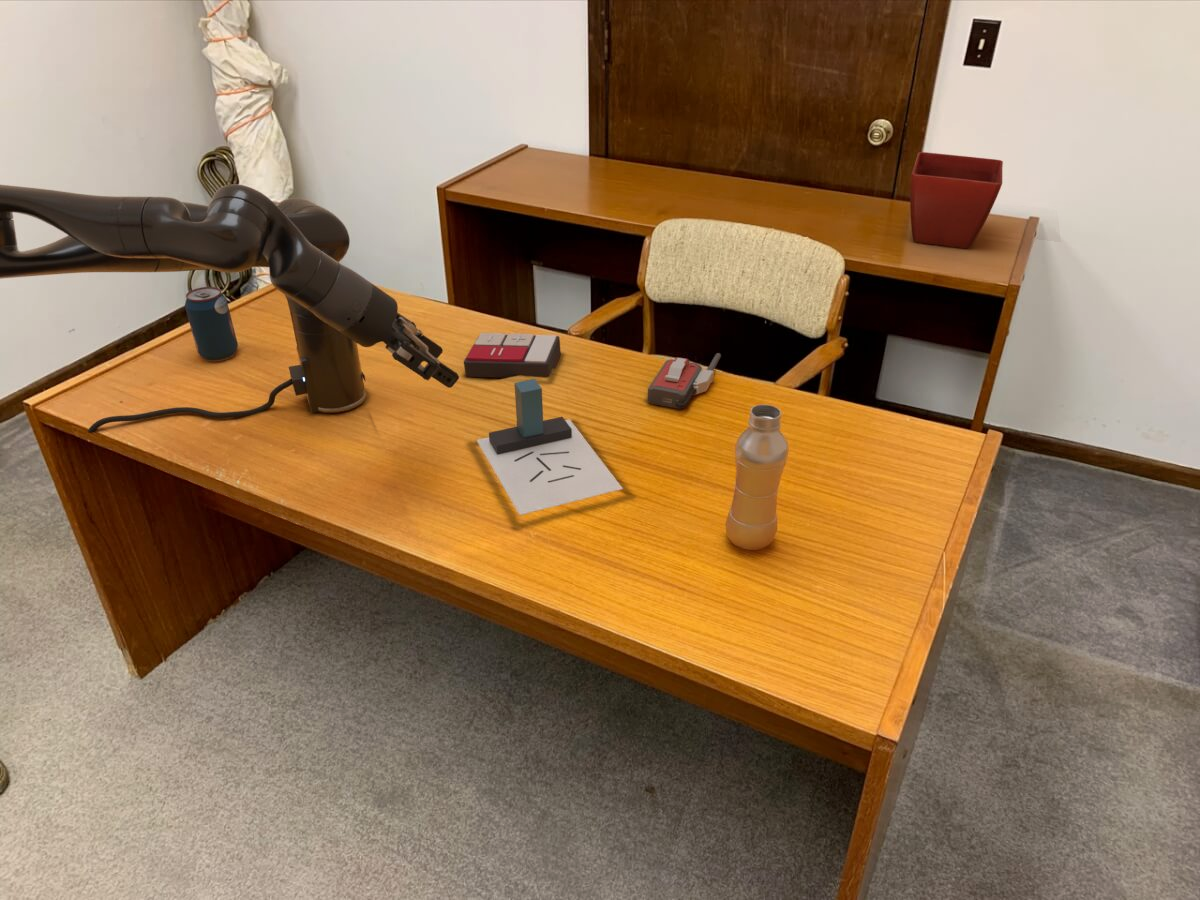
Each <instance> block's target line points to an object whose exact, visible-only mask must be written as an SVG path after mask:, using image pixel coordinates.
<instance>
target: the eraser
mask: <svg viewBox="0 0 1200 900" xmlns="http://www.w3.org/2000/svg"><path fill="white" fill-rule="evenodd" d="M514 397H515V414H516V415H515V416H516V426H513V427H508V428H504V429H499V430H495V431H490V432H488V437H489V442H490V443H491V445H492V447H493V448H494V450H495V452H496V453H497V455H498V454H503V453H507V452H511V451H516V450H520V449H524V448H529V447H533V446H537V445H542V444H546V443H551V442H555V441H559V440H564V439H568V438H572V429H571V427H570V426H569V425H568V424H567V422H566V421H565V420H566V419H565V418H564V417H563V416H559V417H554V418H549V419H545V420H544V408H543V387H541V385H540V384H539V382H538V381H537V380H536V378H532V379H527V380H522V381H517V382H514Z"/></svg>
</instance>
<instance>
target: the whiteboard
mask: <svg viewBox="0 0 1200 900" xmlns="http://www.w3.org/2000/svg"><path fill="white" fill-rule="evenodd" d="M564 420H565V421H566V422H567V424H568V425H569V426H570V427H571V429H572V438H568V439H564V440H559V441H555V442H551V443H546V444H542V445H537V446H533V447H529V448H524V449H520V450H516V451H511V452H507V453H503V454H498V455H497V453H496V452H495V450H494V448H493V447H492V445H491V443H490V442H489V436H487V437H483V438H478V439H476V443H477V444H478V446H479V447H480V449H481V451H482V453H483V454H484V456H485V458H486V460H487V462H488V463H489V465H490V466H491V468H492V470H493V472H494V474H495V475H496V477H497V479H498V481H499V482H500V484H501V486H502V487H503V489H504V491H505V492H506V494H507V496H508V498H509V500H510V501H511V503H512V504H513V507H514V508H515V510H516V512H517V513H518V516H523V515H528V514H531V513H534V512H538V511H543V510H546V509H551V508H555V507H558V506H562V505H565V504H566V505H567V504H570V503H574V502H578V501H581V500H586V499H590V498H594V497H597V496H600V495H605V494H610V493H613V492H618V491H621V490H623V489H624V487H622V485H621V484H620V482H618V480H617V479H616V478H615V476H614V475H613V474H612V472H611V471H610V469H609V468H608V467H607V466H606V464H605V463H604V462H603V461H602V459H601V458H600V457H599V455H598V454H597V453H596V451H595V450H594V448H593V447H592V446H591V445H590V444H589V442H588V441H587V440H586V438H585V437H584V436H583V435H582V433H581V431H579V429H578V428H577V427H576V425H575V424H574V423H573V421H572V420H571V419H569V418H568V419H564Z"/></svg>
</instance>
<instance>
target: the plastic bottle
mask: <svg viewBox="0 0 1200 900" xmlns="http://www.w3.org/2000/svg"><path fill="white" fill-rule="evenodd" d="M747 422H748V424H747V425H748V427H747V428H746V429H745V430H744V431H743V432H742V433H741V434H740V435H739V436H738V438H737V440H736V442H735V444H734V445H735V446H734V459H735V461H734V462H735V481H734V482H735V483H734V492H733V496H732V502H731V505H730V508H729V511H728V513H727V516H726V520H725V529H726V530H725V532H726V536H727V537H728V539H729V540H730V542H731V543H732V544H733V545H734V546H736V547H738V548H740V549H743V550H747V551H757V550H761V549H765V548H766V547H767V546H769V545H771V543H772V542H773V541H774V539H775V537H776V534H777V531H778V513H777V508H778V507H777V506H778V493H779V487H780V484H781V478H782V475H783V472H784V469H785V466H786V463H787V460H788V456H789V452H790V448H789V444H788V440H787V439H786V438H785V435H784V434H783V432H782V431H781V430H780V429H781V426H782V410H781V409H780V408H779V407H777V406H775V405H772V404H765V403H763V404H757V405H754V406H752V407H751V408H750V411H749V418H748V421H747Z"/></svg>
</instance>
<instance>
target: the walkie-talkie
mask: <svg viewBox="0 0 1200 900" xmlns="http://www.w3.org/2000/svg"><path fill="white" fill-rule="evenodd" d="M721 358H722V355H721V353H720V352H717V353H715V355H714V357H713V358H712V360H711V361H710V363H709V365H708V367H707V368H706V369H705V368H703V367H702V365H700V364H699V363H697V362H691V361H690V359H689V358H683V357H677V356H676V357H675V358H674V359H673V358H672V359H667V360H665V362H664V363H663V364H662V366H661V368H660V369H659V371H658V372H657V374H656V375H655V377H654V378H653V380H652V381H651V382H650V384H649V386H648V387H647V402H648V403H649V404H651V405H654V406H661V407H666V408H670V409H671V408H672V409H675V410H676V409H677V410H681V409H684V408H686V406H687V405H688V403H689V401H690V399H691V398H692V396H693V395H695V396H696V395H699V394H702V393H704V392H705V393H706V392H707V390H708V388H709V387H710V385H711V383H713V382H714V376H715V375H714V374H715V372H714V370H715V369H716V367H717V365H718V363H719V361H720V359H721Z"/></svg>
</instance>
